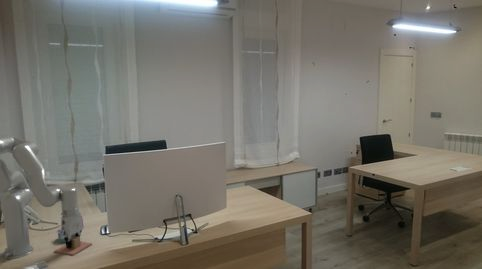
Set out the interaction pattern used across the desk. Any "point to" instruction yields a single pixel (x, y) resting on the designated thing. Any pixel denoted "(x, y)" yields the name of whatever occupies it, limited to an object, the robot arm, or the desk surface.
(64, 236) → the bowl
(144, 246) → the desk surface
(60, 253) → the mat
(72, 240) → the lid
